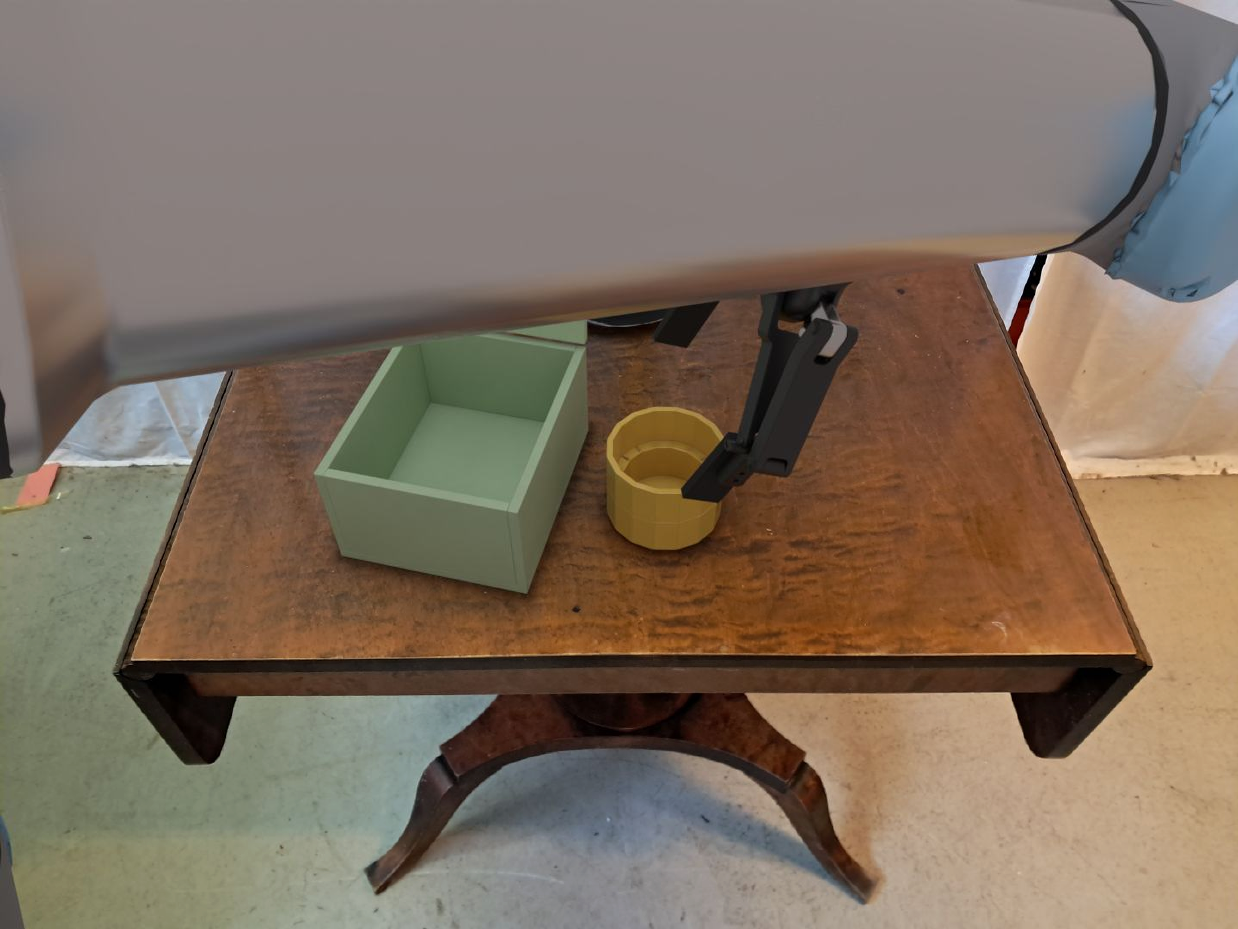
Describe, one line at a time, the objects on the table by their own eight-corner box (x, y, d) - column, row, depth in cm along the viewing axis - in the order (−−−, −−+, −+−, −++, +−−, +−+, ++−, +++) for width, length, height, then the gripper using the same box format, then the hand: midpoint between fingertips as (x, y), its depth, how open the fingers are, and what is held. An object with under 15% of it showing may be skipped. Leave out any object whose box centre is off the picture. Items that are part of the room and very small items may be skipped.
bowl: (665, 574, 75) (668, 513, 69) (584, 509, 79) (581, 447, 74) (742, 510, 79) (751, 448, 74) (661, 452, 84) (664, 390, 78)
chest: (527, 594, 73) (517, 513, 66) (341, 556, 76) (312, 473, 69) (588, 429, 86) (586, 346, 78) (427, 401, 88) (410, 318, 81)
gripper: (993, 371, 45) (765, 577, 61) (859, 64, 59) (701, 296, 74) (866, 342, 42) (660, 566, 58) (756, 25, 56) (615, 275, 71)
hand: (683, 414), depth 66 cm, fingers open, 13 cm apart
